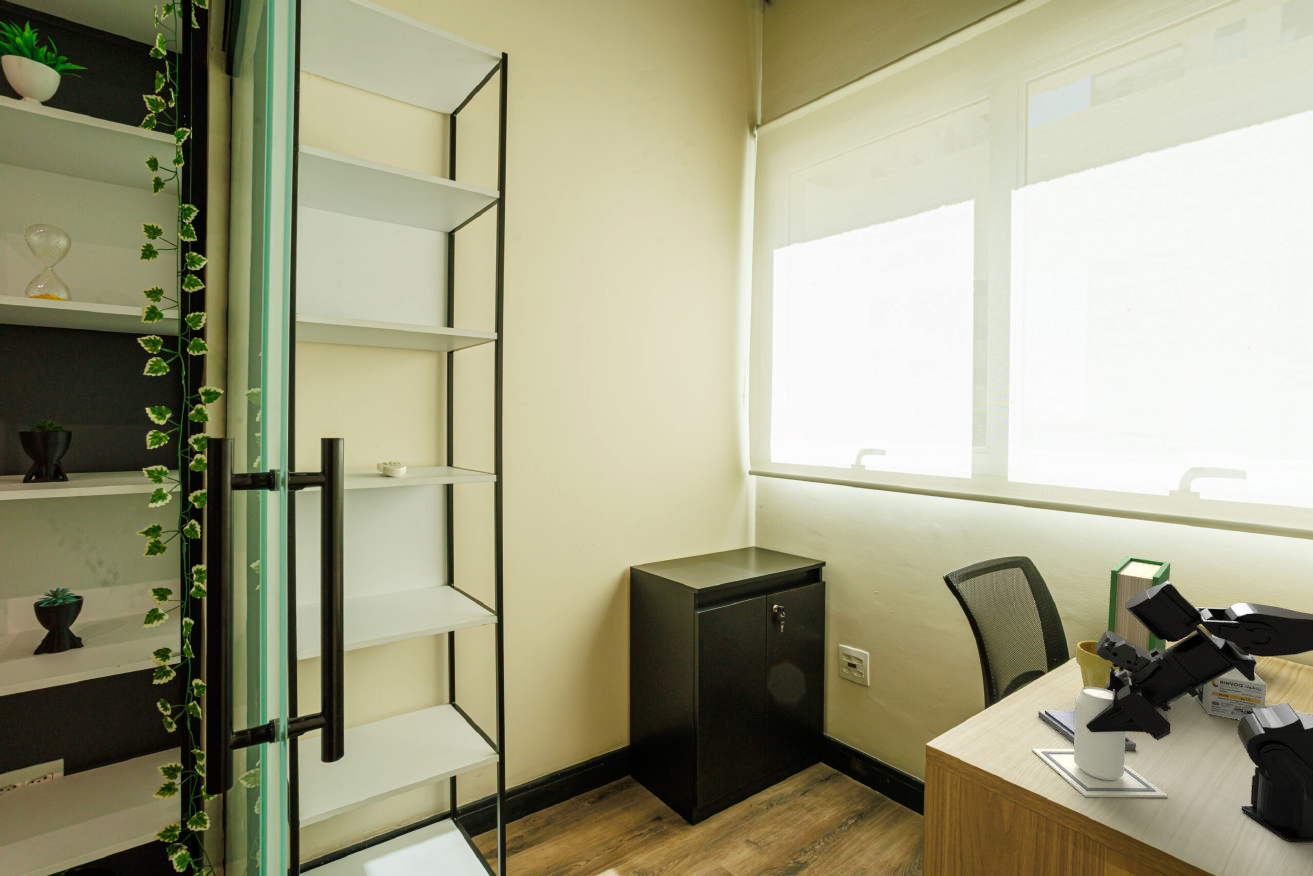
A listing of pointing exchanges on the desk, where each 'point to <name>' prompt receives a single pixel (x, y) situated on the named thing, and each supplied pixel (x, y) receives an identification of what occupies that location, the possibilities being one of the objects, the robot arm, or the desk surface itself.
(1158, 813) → the desk surface
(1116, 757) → the beverage can
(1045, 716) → the ink pad
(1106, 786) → the print card
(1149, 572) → the hardback book
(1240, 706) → the container
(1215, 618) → the robot arm
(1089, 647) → the plant pot
